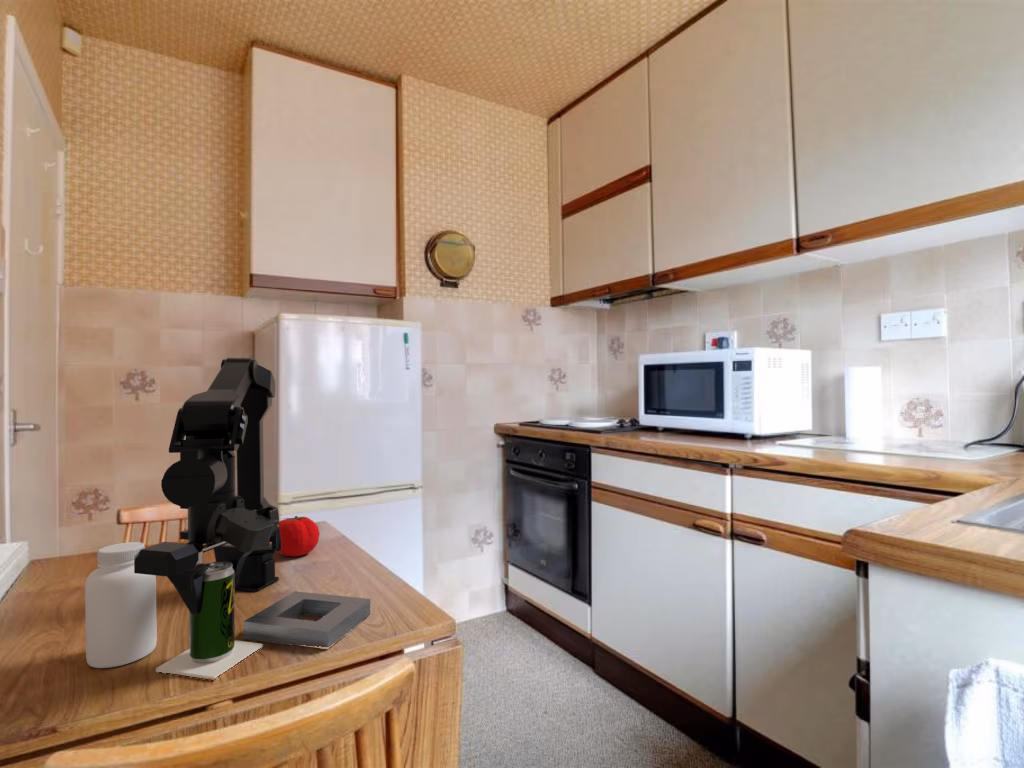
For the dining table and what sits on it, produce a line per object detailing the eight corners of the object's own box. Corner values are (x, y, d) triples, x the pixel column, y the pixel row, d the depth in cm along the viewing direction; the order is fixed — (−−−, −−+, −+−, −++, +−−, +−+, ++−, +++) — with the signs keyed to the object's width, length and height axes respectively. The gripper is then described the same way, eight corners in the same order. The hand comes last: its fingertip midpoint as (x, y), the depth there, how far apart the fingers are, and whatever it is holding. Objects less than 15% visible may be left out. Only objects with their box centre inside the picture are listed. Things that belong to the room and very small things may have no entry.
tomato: (310, 561, 115) (310, 521, 115) (262, 561, 115) (262, 521, 115) (326, 548, 124) (325, 511, 124) (281, 548, 124) (281, 511, 124)
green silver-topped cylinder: (189, 669, 70) (189, 576, 70) (189, 651, 75) (189, 564, 75) (236, 658, 73) (236, 569, 73) (232, 642, 77) (232, 558, 77)
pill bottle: (110, 642, 78) (110, 539, 78) (168, 640, 79) (168, 538, 79) (70, 671, 70) (70, 556, 70) (135, 668, 71) (135, 554, 71)
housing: (243, 639, 79) (243, 621, 79) (295, 606, 91) (295, 591, 91) (328, 650, 76) (328, 631, 76) (370, 614, 88) (370, 598, 88)
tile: (155, 672, 70) (155, 668, 70) (210, 640, 79) (210, 636, 79) (213, 680, 68) (213, 676, 68) (262, 647, 77) (262, 643, 77)
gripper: (207, 509, 63) (207, 644, 63) (305, 481, 81) (305, 585, 81) (130, 504, 65) (130, 633, 65) (242, 478, 83) (242, 579, 83)
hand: (212, 605), depth 74 cm, fingers closed on green silver-topped cylinder, 5 cm apart
